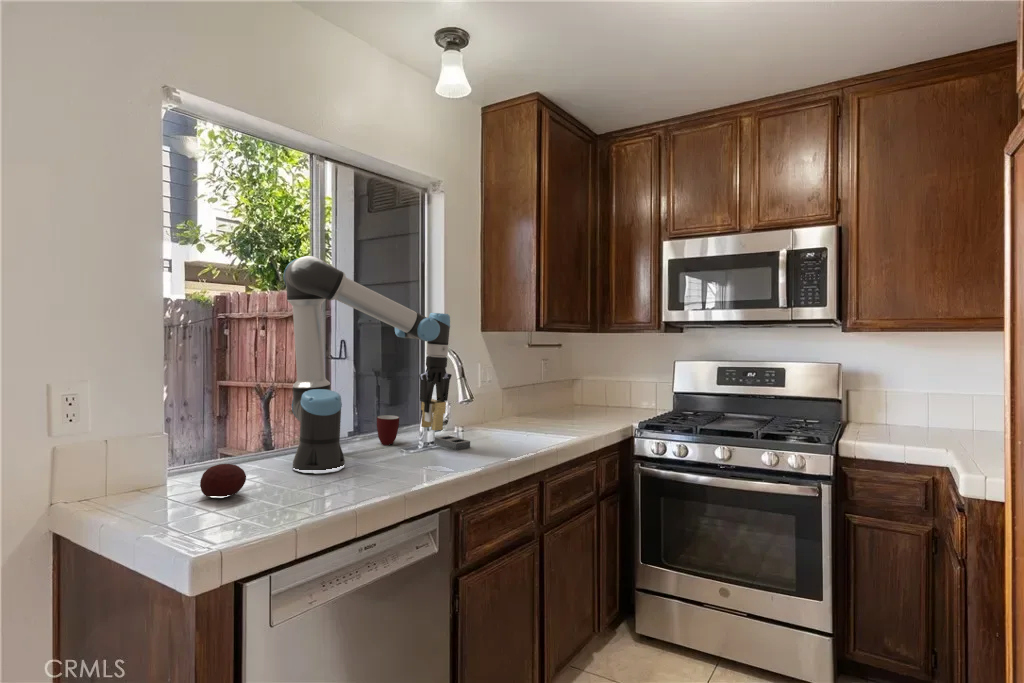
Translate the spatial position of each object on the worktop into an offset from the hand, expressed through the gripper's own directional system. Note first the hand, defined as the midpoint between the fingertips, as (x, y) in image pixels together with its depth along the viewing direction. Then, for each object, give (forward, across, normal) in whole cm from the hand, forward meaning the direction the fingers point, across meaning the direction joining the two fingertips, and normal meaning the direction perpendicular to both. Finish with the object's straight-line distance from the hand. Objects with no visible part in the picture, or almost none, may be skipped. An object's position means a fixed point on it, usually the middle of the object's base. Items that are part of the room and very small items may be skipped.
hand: (432, 420), depth 208 cm
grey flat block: (+10, +10, 0) cm, 14 cm away
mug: (+11, -7, +17) cm, 21 cm away
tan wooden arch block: (+3, 0, 0) cm, 3 cm away
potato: (+12, -75, -9) cm, 77 cm away
